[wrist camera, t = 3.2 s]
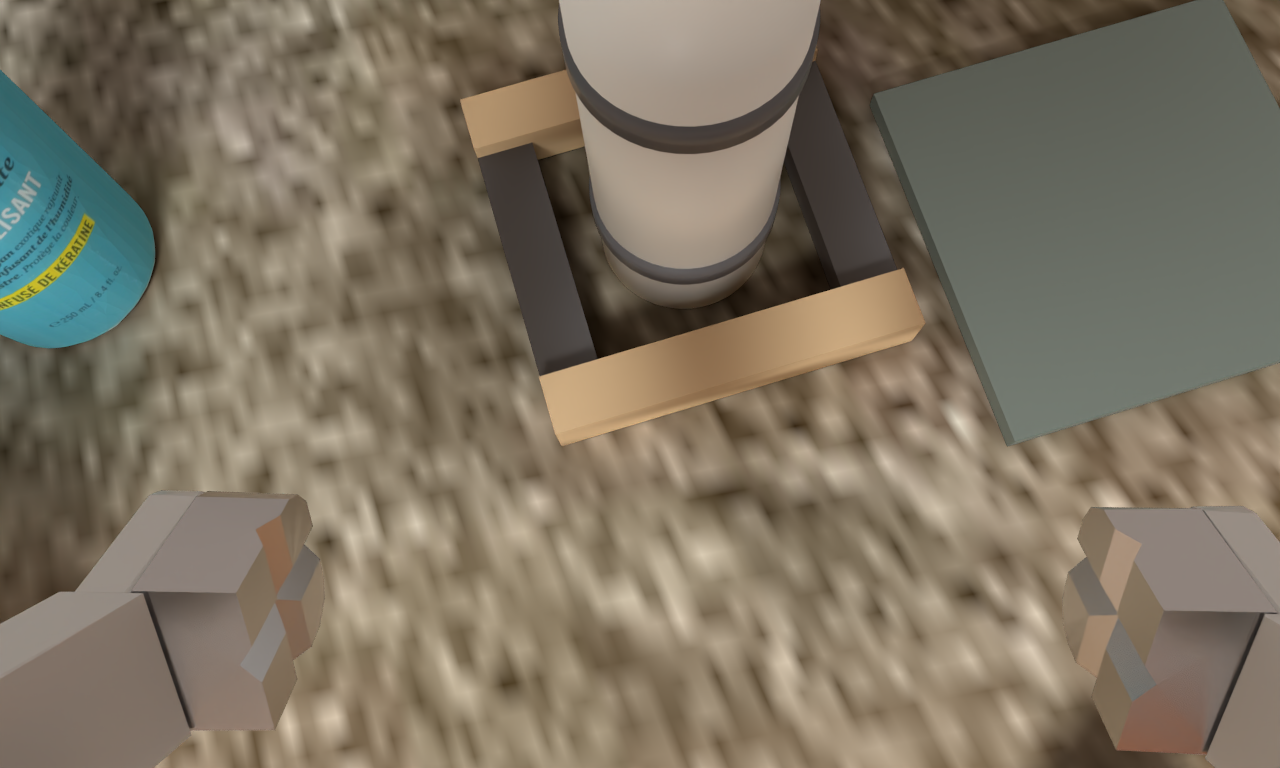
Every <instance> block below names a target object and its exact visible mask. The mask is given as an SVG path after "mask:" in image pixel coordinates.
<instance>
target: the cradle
mask: <svg viewBox="0 0 1280 768" xmlns="http://www.w3.org/2000/svg"><path fill="white" fill-rule="evenodd" d="M817 52H818V49H817V47H816V48H815V53H814V57H813V61H812V65H811V68H810V72H809V75H808V78H807V80H806V82H805V85H804V87H803V89H802V91H801V93H800V94H799V97H798V102H797V106H796V110H795V115H794V119H793V123H792V128H791V132H790V136H789V141H788V145H787V149H786V154H785V158H784V164H785V167H786V170H787V172H788V175H789V178H790V180H791V183H792V186H793V189H794V191H795V194H796V197H797V199H798V202H799V205H800V207H801V210H802V213H803V215H804V218H805V221H806V223H807V226H808V229H809V232H810V234H811V237H812V240H813V242H814V245H815V248H816V250H817V253H818V256H819V258H820V261H821V264H822V266H823V269H824V272H825V275H826V277H827V280H828V283H829V285H830V288H831V290H828V291H825V292H821V293H818V294H815V295H811V296H808V297H805V298H801V299H798V300H795V301H791V302H788V303H785V304H781V305H778V306H774V307H771V308H768V309H764V310H761V311H758V312H754V313H751V314H748V315H744V316H741V317H738V318H734V319H731V320H727V321H724V322H721V323H717V324H714V325H711V326H707V327H704V328H701V329H697V330H694V331H691V332H687V333H684V334H680V335H677V336H674V337H670V338H667V339H664V340H660V341H657V342H654V343H650V344H647V345H644V346H640V347H637V348H633V349H630V350H627V351H623V352H620V353H617V354H613V355H610V356H607V357H603V358H600V359H598V358H597V355H596V352H595V348H594V345H593V342H592V339H591V335H590V332H589V329H588V325H587V322H586V319H585V315H584V312H583V309H582V305H581V302H580V299H579V296H578V292H577V289H576V286H575V282H574V279H573V276H572V272H571V269H570V266H569V262H568V259H567V256H566V252H565V249H564V246H563V243H562V239H561V236H560V233H559V229H558V226H557V223H556V219H555V216H554V213H553V209H552V206H551V203H550V199H549V196H548V193H547V190H546V186H545V183H544V180H543V176H542V173H541V170H540V166H539V163H538V160H539V159H542V158H546V157H549V156H553V155H556V154H560V153H563V152H567V151H570V150H574V149H577V148H581V147H584V146H585V144H584V138H583V132H582V127H581V121H580V116H579V110H578V104H577V99H576V93H575V91H574V89H573V87H572V84H571V82H570V79H569V77H568V74H567V70H563V71H559V72H556V73H552V74H549V75H545V76H542V77H538V78H535V79H531V80H527V81H524V82H520V83H517V84H513V85H510V86H506V87H503V88H499V89H496V90H492V91H489V92H485V93H482V94H478V95H475V96H471V97H468V98H464V99H461V100H460V101H461V105H462V108H463V112H464V115H465V119H466V122H467V126H468V130H469V133H470V137H471V140H472V144H473V147H474V150H475V153H476V155H477V158H478V161H479V164H480V168H481V171H482V175H483V178H484V182H485V185H486V189H487V192H488V196H489V199H490V203H491V206H492V210H493V213H494V217H495V221H496V224H497V228H498V231H499V235H500V238H501V242H502V245H503V249H504V252H505V256H506V259H507V263H508V266H509V270H510V273H511V277H512V280H513V284H514V287H515V291H516V294H517V298H518V301H519V305H520V308H521V312H522V315H523V319H524V322H525V326H526V329H527V333H528V336H529V340H530V343H531V347H532V350H533V354H534V357H535V361H536V364H537V368H538V371H539V375H540V376H539V379H540V382H541V386H542V389H543V393H544V396H545V400H546V403H547V407H548V411H549V414H550V418H551V421H552V425H553V428H554V432H555V435H556V436H557V438H558V440H559V442H560V444H561V445H562V446H564V445H568V444H571V443H574V442H578V441H581V440H584V439H588V438H591V437H594V436H598V435H601V434H604V433H608V432H611V431H614V430H618V429H621V428H624V427H628V426H631V425H634V424H638V423H641V422H644V421H647V420H651V419H654V418H657V417H661V416H664V415H667V414H671V413H674V412H677V411H681V410H684V409H687V408H691V407H694V406H697V405H701V404H704V403H707V402H711V401H714V400H717V399H721V398H724V397H727V396H730V395H734V394H737V393H740V392H744V391H747V390H750V389H754V388H757V387H760V386H764V385H767V384H770V383H774V382H777V381H780V380H784V379H787V378H790V377H794V376H797V375H800V374H804V373H807V372H810V371H813V370H817V369H820V368H823V367H827V366H830V365H833V364H837V363H840V362H843V361H847V360H850V359H853V358H857V357H860V356H863V355H867V354H870V353H873V352H877V351H880V350H883V349H887V348H890V347H893V346H896V345H900V344H903V343H906V342H910V341H912V340H913V338H914V337H915V336H916V335H917V333H918V332H919V331H920V329H921V328H922V327H923V326H924V324H925V320H924V318H923V315H922V313H921V310H920V308H919V305H918V303H917V300H916V298H915V295H914V293H913V290H912V287H911V285H910V282H909V280H908V277H907V275H906V272H905V270H904V268H902V269H899V270H897V268H896V265H895V263H894V260H893V258H892V255H891V252H890V250H889V247H888V245H887V242H886V240H885V237H884V235H883V232H882V229H881V227H880V224H879V222H878V219H877V217H876V214H875V212H874V209H873V207H872V204H871V201H870V199H869V196H868V194H867V191H866V189H865V186H864V184H863V181H862V179H861V176H860V173H859V171H858V168H857V166H856V163H855V161H854V158H853V156H852V153H851V150H850V148H849V145H848V143H847V140H846V138H845V135H844V133H843V130H842V128H841V125H840V122H839V120H838V117H837V115H836V112H835V110H834V107H833V105H832V102H831V99H830V97H829V94H828V92H827V89H826V87H825V84H824V82H823V79H822V77H821V74H820V71H819V69H818V66H817V64H816V56H817Z"/></svg>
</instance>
